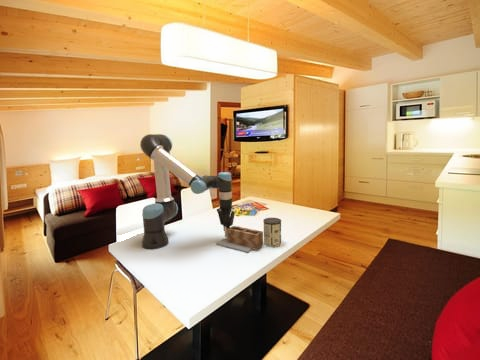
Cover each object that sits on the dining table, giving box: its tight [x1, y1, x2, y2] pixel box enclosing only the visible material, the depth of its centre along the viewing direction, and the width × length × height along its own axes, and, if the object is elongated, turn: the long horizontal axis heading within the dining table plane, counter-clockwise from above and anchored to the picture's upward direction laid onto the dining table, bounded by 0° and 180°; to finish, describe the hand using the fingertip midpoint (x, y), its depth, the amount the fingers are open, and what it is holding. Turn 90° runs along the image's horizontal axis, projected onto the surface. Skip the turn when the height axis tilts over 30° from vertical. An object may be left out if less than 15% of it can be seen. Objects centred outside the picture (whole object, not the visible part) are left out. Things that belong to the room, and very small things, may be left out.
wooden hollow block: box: [226, 225, 264, 250], centre depth 155 cm, size 20×7×8 cm, turn 56°
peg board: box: [215, 237, 254, 254], centre depth 157 cm, size 22×16×6 cm
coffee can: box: [262, 217, 282, 248], centre depth 156 cm, size 10×10×14 cm
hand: (227, 236), depth 162 cm, fingers closed
